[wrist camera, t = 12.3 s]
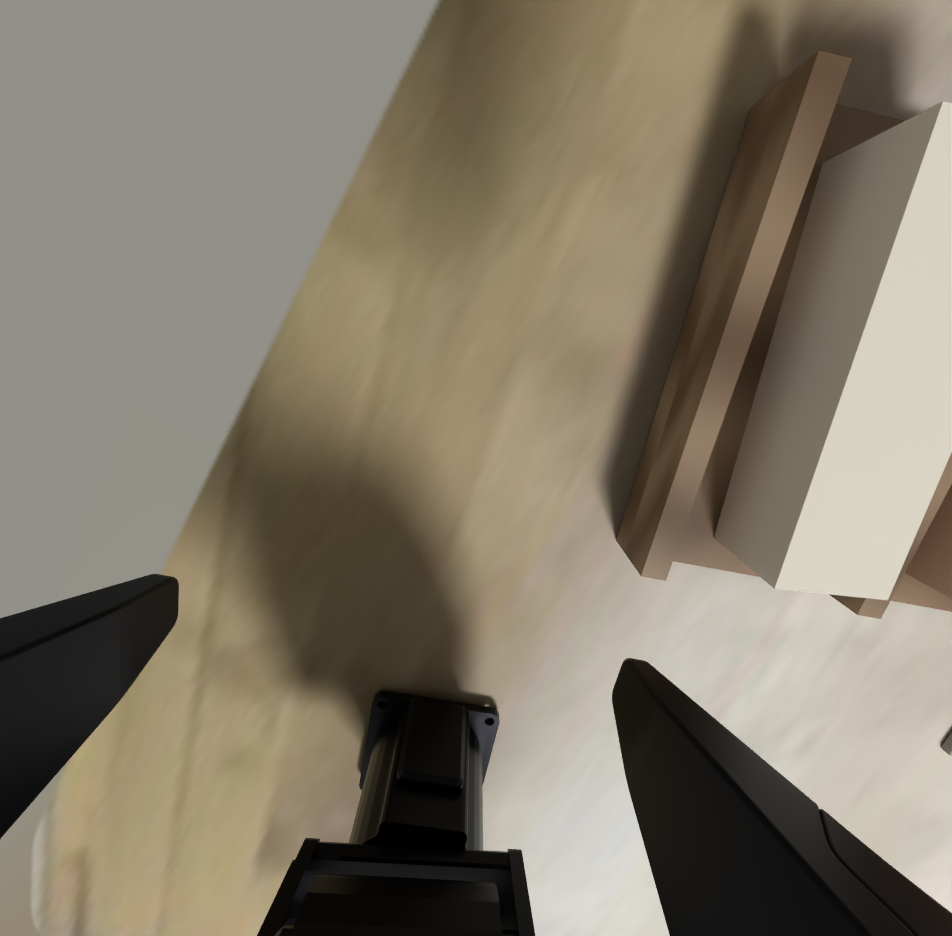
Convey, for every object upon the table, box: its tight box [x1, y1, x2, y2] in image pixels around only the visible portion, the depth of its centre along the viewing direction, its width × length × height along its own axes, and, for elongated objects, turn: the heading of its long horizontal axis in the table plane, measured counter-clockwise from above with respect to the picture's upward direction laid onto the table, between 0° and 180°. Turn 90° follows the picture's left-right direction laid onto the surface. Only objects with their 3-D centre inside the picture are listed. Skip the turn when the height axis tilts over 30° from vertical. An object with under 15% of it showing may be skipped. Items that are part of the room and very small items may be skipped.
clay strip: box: [714, 102, 952, 600], centre depth 15 cm, size 14×4×4 cm, turn 173°
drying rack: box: [616, 50, 952, 619], centre depth 17 cm, size 17×19×3 cm
